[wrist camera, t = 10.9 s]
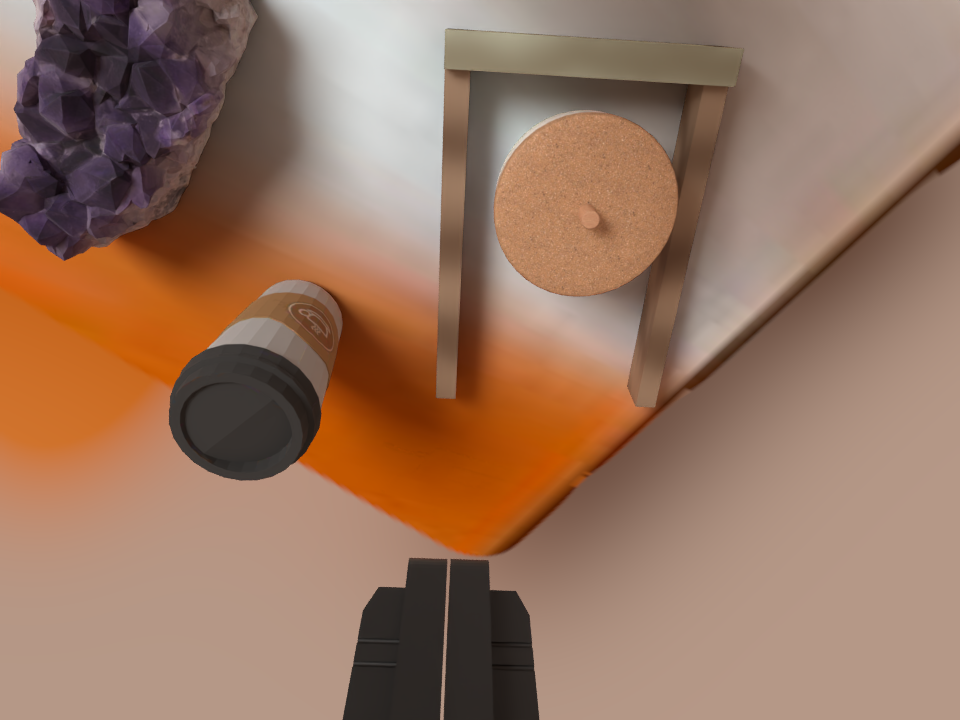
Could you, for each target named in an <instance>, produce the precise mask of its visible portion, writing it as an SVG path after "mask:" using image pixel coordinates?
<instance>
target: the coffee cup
mask: <svg viewBox="0 0 960 720" xmlns="http://www.w3.org/2000/svg"><path fill="white" fill-rule="evenodd" d="M342 325H343V321H342V314H341V311H340V309H339V307H338V305H337V303H336V302H335V300H334V299H333V298H332V297H331V295H330V294H329V293H328V292H326V291H325V290H324V289H323V288H321V287H319V286H317V285H315V284H313V283H311V282H307V281H302V280H286V281H282V282H279V283H276V284H275V285H273V286H271V287H270V288H268V289H267V290H266V291H265V292H264V293H263V294H262V295H261V296H260V297H259V298H258V299H257V300H256V301H254V302H252V303H251V304H250V305H249V306H248V307H247V308H246V309H245V310H244V311H243V312H242V313H241V314H240V315H239V316H238V317H237V318H236V319H235V320H234V321H233V322H232V323H231V324H230V325H229V326H227V327H226V329H225V330H224V331H223V332H222V333H221V334H220V336H219V337H218V338H217V340H215V341H214V342H213V343H212V344H211V345H210V346H209V347H208V348H207V349H206V350H205V351H203V352H201V353H200V354H198V355H197V356H195V357H193V358H192V359H191V360H190V361H189V363H188V364H187V365H186V366H185V367H184V369H183V370H182V372H181V374H180V377H179V378H178V379H177V380H176V382H175V385H174V388H173V390H172V393H171V396H170V409H169V425H170V427H171V431H172V434H173V437H174V439H175V441H176V442H177V444H178V445H179V447H180V448H181V450H182V451H183V452H184V453H185V454H186V455H187V456H188V457H189V458H190V459H191V460H192V461H193V462H194V463H196V464H198V465H199V466H201V467H202V468H204V469H206V470H207V471H209V472H212V473H214V474H217V475H219V476H222V477H225V478H231V479H236V480H260V479H264V478H268V477H272V476H274V475H276V474H278V473H280V472H282V471H284V470H285V469H286V468H288V467H289V466H290V465H291V464H293V463H295V462H296V461H297V460H298V459H299V458H300V457H301V456H302V455H303V454H304V453H305V452H306V451H307V449H308V447H309V445H310V443H311V442H312V441H313V439H314V437H315V435H316V433H317V431H318V429H319V426H320V420H321V406H322V403H323V399H324V395H325V392H326V390H327V388H328V385H329V381H330V378H331V374H332V370H333V366H334V362H335V359H336V355H337V349H338V343H339V340H340V336H341V331H342Z"/></svg>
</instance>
